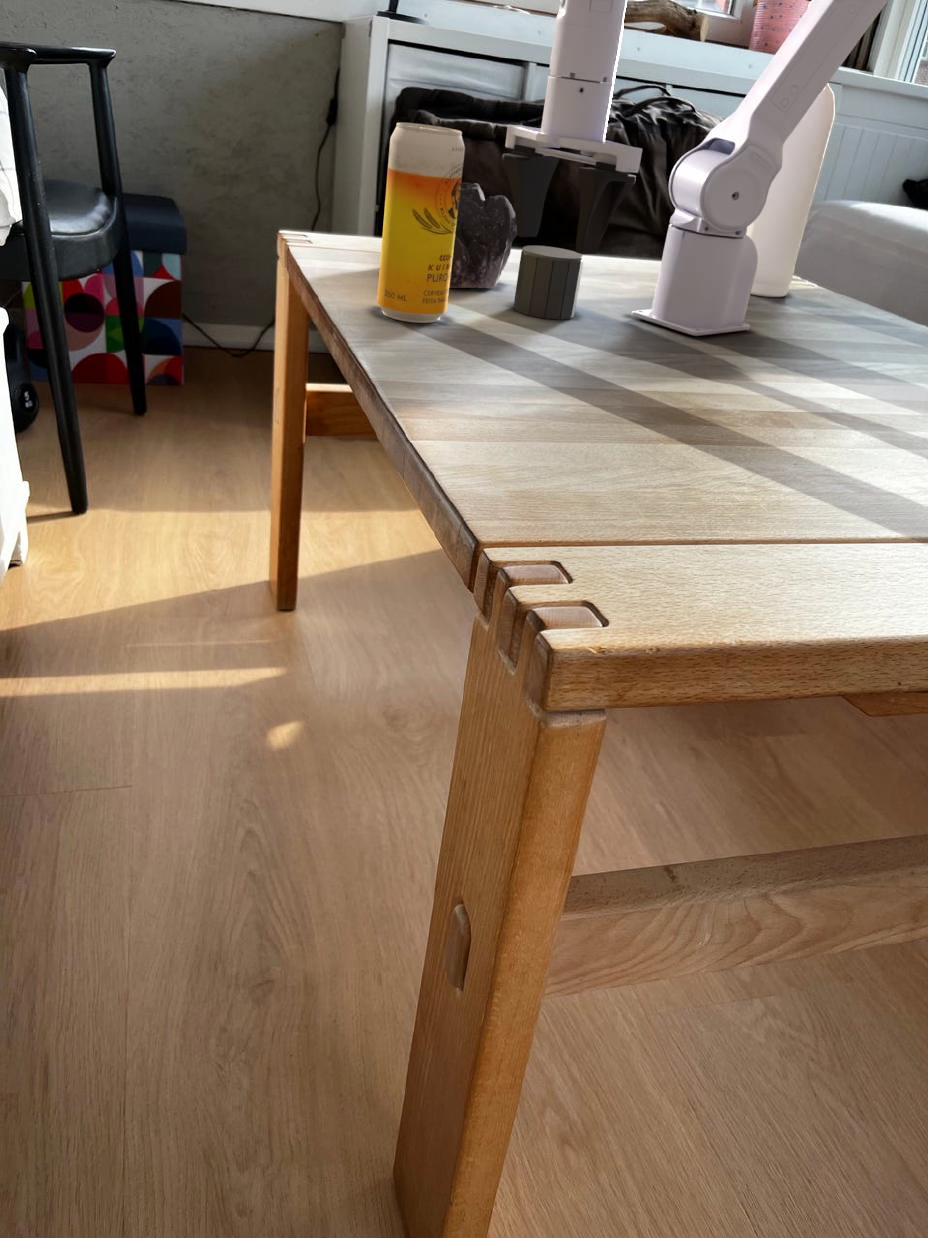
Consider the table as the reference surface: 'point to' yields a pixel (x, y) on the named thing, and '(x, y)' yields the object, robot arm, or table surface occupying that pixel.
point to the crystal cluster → (481, 238)
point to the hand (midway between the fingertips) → (555, 244)
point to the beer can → (420, 221)
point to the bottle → (791, 199)
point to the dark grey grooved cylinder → (548, 282)
